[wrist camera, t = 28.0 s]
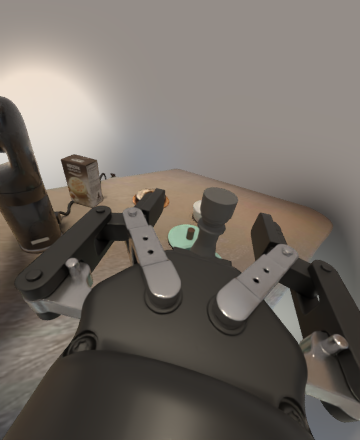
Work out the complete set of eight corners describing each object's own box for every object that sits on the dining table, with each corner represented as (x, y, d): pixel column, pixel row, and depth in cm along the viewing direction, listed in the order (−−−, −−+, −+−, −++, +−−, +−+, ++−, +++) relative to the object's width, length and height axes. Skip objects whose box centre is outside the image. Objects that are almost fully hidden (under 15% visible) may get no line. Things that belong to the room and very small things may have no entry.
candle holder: (180, 272, 45) (199, 185, 30) (203, 273, 46) (233, 188, 31) (181, 295, 40) (205, 203, 25) (207, 295, 41) (245, 207, 26)
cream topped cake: (155, 214, 64) (155, 205, 62) (124, 200, 69) (124, 191, 67) (174, 199, 75) (176, 191, 73) (147, 188, 80) (147, 180, 78)
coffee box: (71, 202, 63) (58, 158, 54) (82, 194, 69) (73, 153, 59) (93, 208, 62) (84, 165, 53) (103, 200, 68) (97, 159, 58)
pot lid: (163, 229, 58) (164, 218, 56) (199, 224, 63) (201, 214, 60) (175, 260, 48) (177, 249, 46) (217, 252, 53) (221, 241, 50)
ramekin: (223, 218, 69) (227, 207, 66) (212, 232, 61) (215, 220, 58) (199, 207, 73) (202, 196, 70) (185, 218, 65) (188, 207, 62)
